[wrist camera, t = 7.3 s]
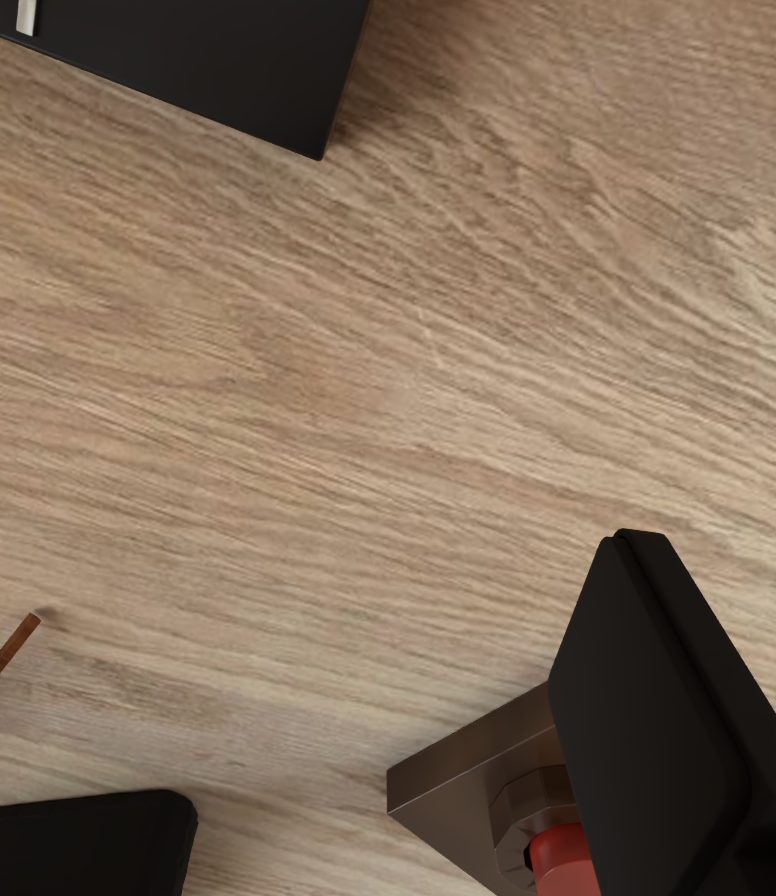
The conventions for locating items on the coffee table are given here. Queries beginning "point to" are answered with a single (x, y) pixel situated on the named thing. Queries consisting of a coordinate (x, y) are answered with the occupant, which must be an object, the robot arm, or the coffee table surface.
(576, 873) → the button
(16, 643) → the glasses
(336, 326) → the coffee table surface
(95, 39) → the black square plate
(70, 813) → the film camera
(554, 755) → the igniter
